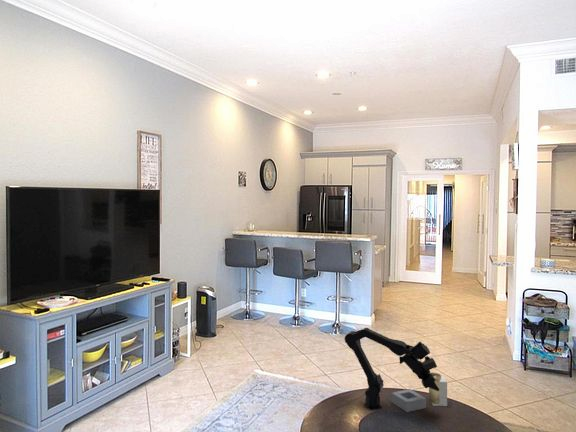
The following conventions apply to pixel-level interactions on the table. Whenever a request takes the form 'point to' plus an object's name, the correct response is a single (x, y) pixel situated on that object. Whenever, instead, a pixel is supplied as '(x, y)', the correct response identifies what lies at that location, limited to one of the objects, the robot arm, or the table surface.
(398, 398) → the block
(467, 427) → the table surface
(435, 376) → the brass bushing
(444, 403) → the supplement box
